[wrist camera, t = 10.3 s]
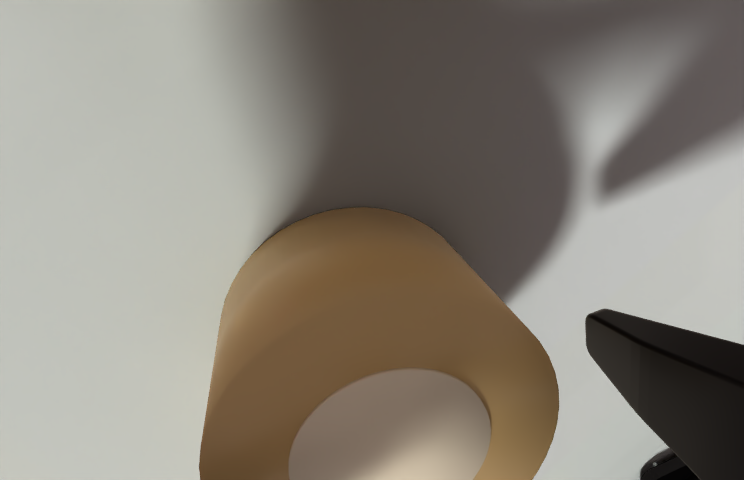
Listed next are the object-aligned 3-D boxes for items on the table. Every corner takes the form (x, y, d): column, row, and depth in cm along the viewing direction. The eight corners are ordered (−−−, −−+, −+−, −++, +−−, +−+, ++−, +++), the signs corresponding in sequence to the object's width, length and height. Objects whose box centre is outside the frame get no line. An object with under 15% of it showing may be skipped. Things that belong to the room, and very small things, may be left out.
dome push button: (268, 169, 10) (271, 243, 6) (512, 250, 12) (625, 343, 8) (189, 406, 12) (154, 575, 8) (413, 441, 14) (469, 587, 10)
